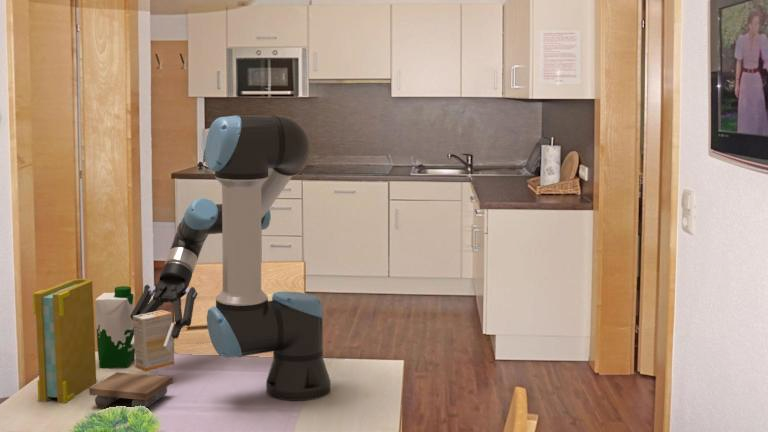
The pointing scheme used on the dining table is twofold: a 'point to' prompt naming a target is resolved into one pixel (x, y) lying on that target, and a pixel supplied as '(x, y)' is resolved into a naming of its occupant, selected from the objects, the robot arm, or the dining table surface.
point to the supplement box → (152, 340)
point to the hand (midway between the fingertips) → (150, 347)
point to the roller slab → (130, 389)
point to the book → (65, 339)
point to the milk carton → (115, 328)
